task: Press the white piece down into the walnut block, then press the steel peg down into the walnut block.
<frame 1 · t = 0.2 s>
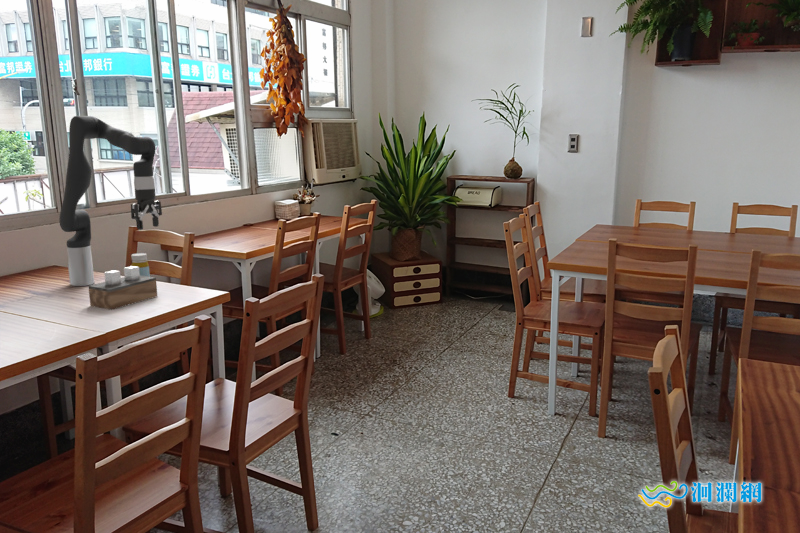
hand: (148, 227, 241), 29 cm above the table, tool pointing down, fingers open, 8 cm apart
bottle: (142, 288, 261), on the table
white piece 1: (113, 280, 234), point 9 cm above the table, slide at 5.0 cm
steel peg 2: (132, 275, 242), point 9 cm above the table, slide at 5.0 cm
walnut block: (124, 300, 240), on the table
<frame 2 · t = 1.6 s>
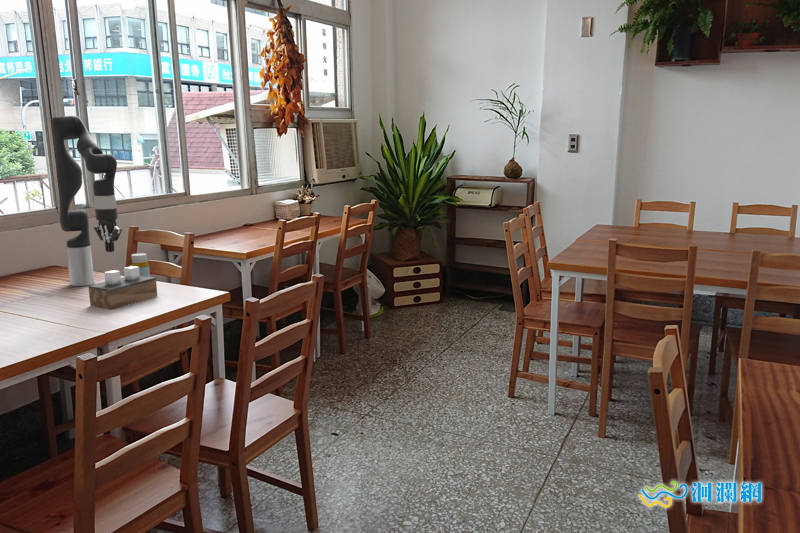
hand: (110, 251, 232), 21 cm above the table, tool pointing down, fingers closed
nothing on the table moved.
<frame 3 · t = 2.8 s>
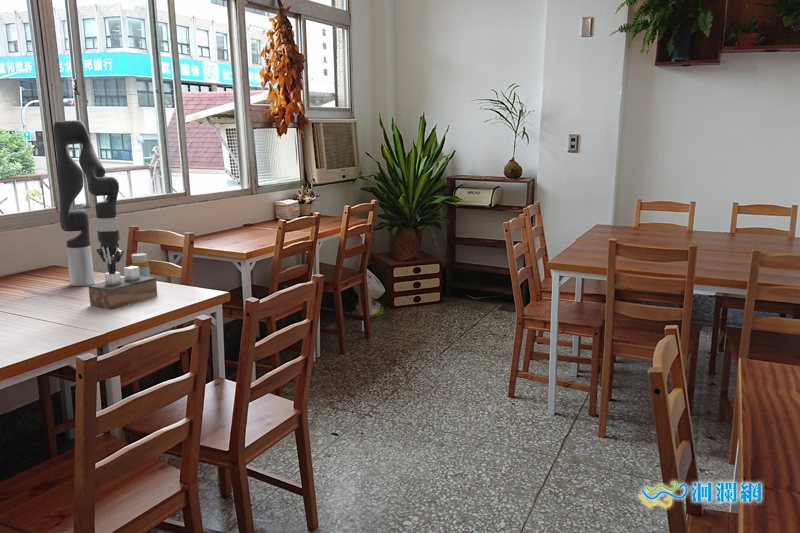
hand: (112, 272, 233), 13 cm above the table, tool pointing down, fingers closed
white piece 1: (113, 281, 234), point 9 cm above the table, slide at 4.5 cm, touching gripper
everything else where it was.
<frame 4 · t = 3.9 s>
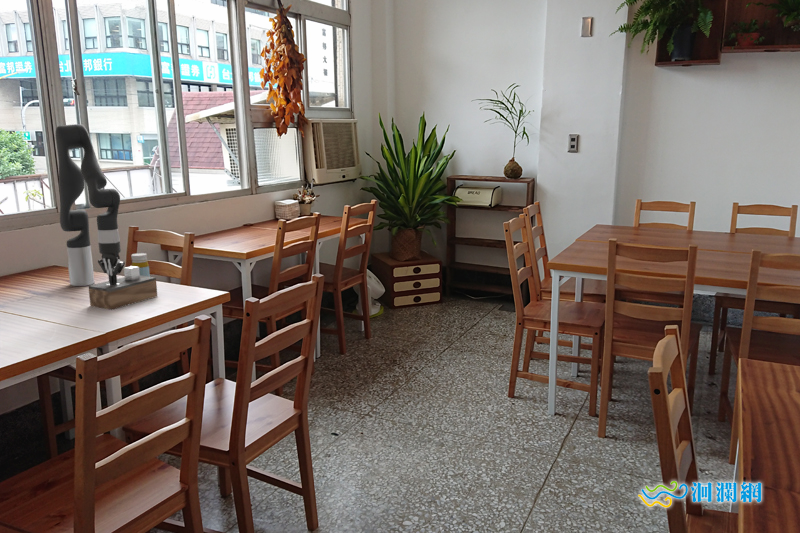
hand: (113, 284, 234), 8 cm above the table, tool pointing down, fingers closed
white piece 1: (114, 292, 235), point 4 cm above the table, slide at 0.0 cm, touching gripper
everything else where it was.
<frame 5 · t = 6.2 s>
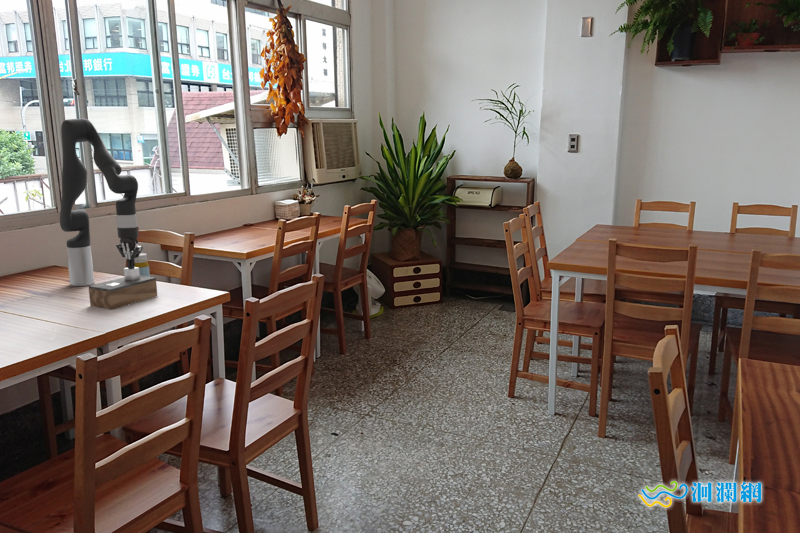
hand: (131, 268, 241), 13 cm above the table, tool pointing down, fingers closed
white piece 1: (114, 292, 235), point 4 cm above the table, slide at 0.0 cm
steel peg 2: (132, 276, 242), point 9 cm above the table, slide at 4.7 cm, touching gripper
everything else where it was.
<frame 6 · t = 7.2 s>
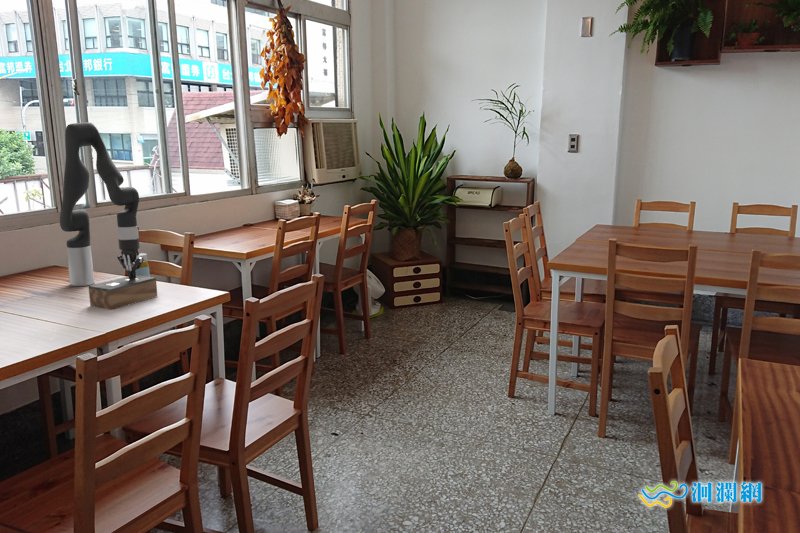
hand: (132, 279, 242), 8 cm above the table, tool pointing down, fingers closed
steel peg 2: (133, 287, 243), point 4 cm above the table, slide at 0.0 cm, touching gripper
everything else where it was.
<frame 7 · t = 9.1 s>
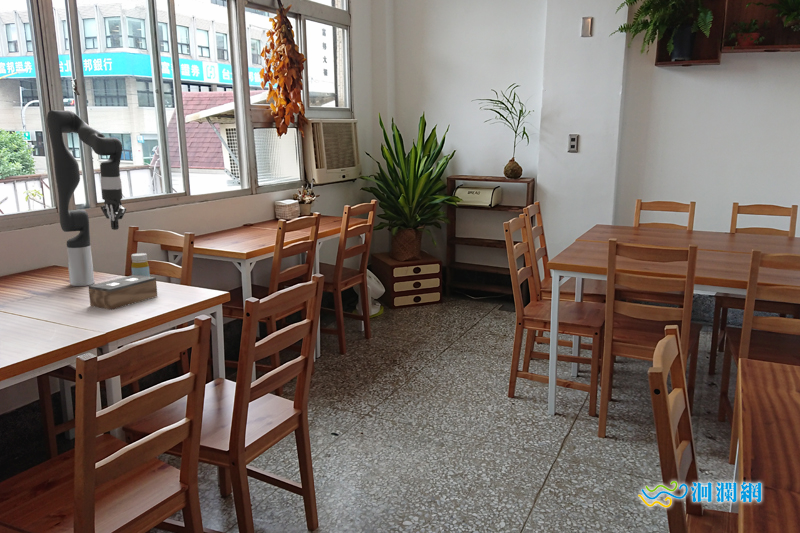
hand: (115, 229, 247), 27 cm above the table, tool pointing down, fingers closed
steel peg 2: (133, 287, 243), point 4 cm above the table, slide at 0.0 cm
everything else where it was.
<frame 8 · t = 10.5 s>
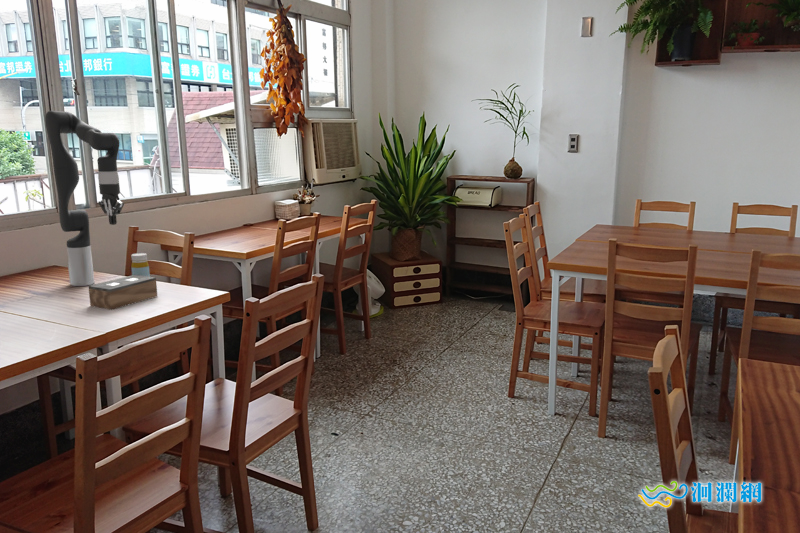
hand: (113, 224, 248), 29 cm above the table, tool pointing down, fingers closed
nothing on the table moved.
at the end: white piece 1 slide at 0.0 cm; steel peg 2 slide at 0.0 cm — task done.
